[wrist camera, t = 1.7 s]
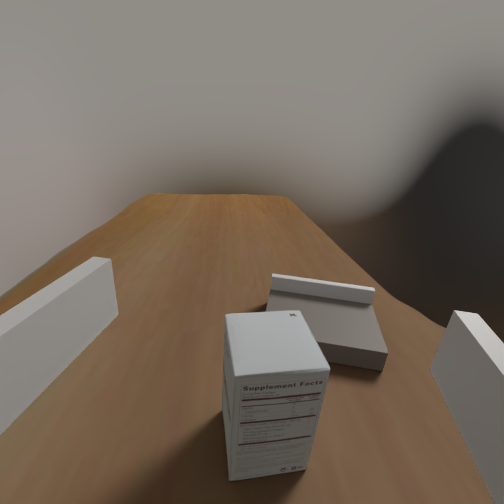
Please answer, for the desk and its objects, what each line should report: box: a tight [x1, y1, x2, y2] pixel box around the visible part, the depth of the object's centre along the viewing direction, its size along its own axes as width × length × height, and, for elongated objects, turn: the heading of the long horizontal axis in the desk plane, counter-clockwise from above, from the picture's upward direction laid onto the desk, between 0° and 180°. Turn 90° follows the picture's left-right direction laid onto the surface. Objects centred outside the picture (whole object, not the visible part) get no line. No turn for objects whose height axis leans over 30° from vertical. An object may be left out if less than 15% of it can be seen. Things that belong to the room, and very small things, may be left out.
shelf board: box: [266, 274, 388, 371], centre depth 44 cm, size 16×12×5 cm
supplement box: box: [222, 310, 330, 481], centre depth 27 cm, size 7×7×13 cm
